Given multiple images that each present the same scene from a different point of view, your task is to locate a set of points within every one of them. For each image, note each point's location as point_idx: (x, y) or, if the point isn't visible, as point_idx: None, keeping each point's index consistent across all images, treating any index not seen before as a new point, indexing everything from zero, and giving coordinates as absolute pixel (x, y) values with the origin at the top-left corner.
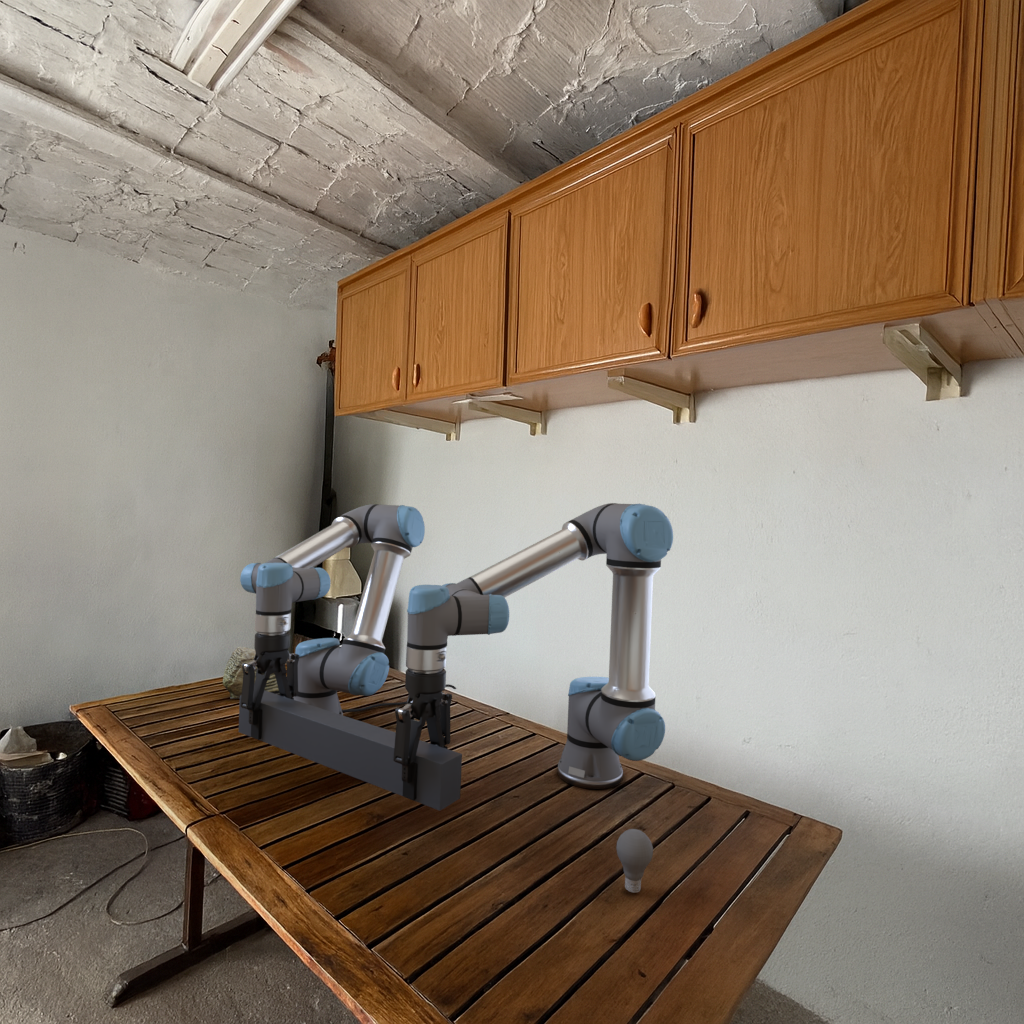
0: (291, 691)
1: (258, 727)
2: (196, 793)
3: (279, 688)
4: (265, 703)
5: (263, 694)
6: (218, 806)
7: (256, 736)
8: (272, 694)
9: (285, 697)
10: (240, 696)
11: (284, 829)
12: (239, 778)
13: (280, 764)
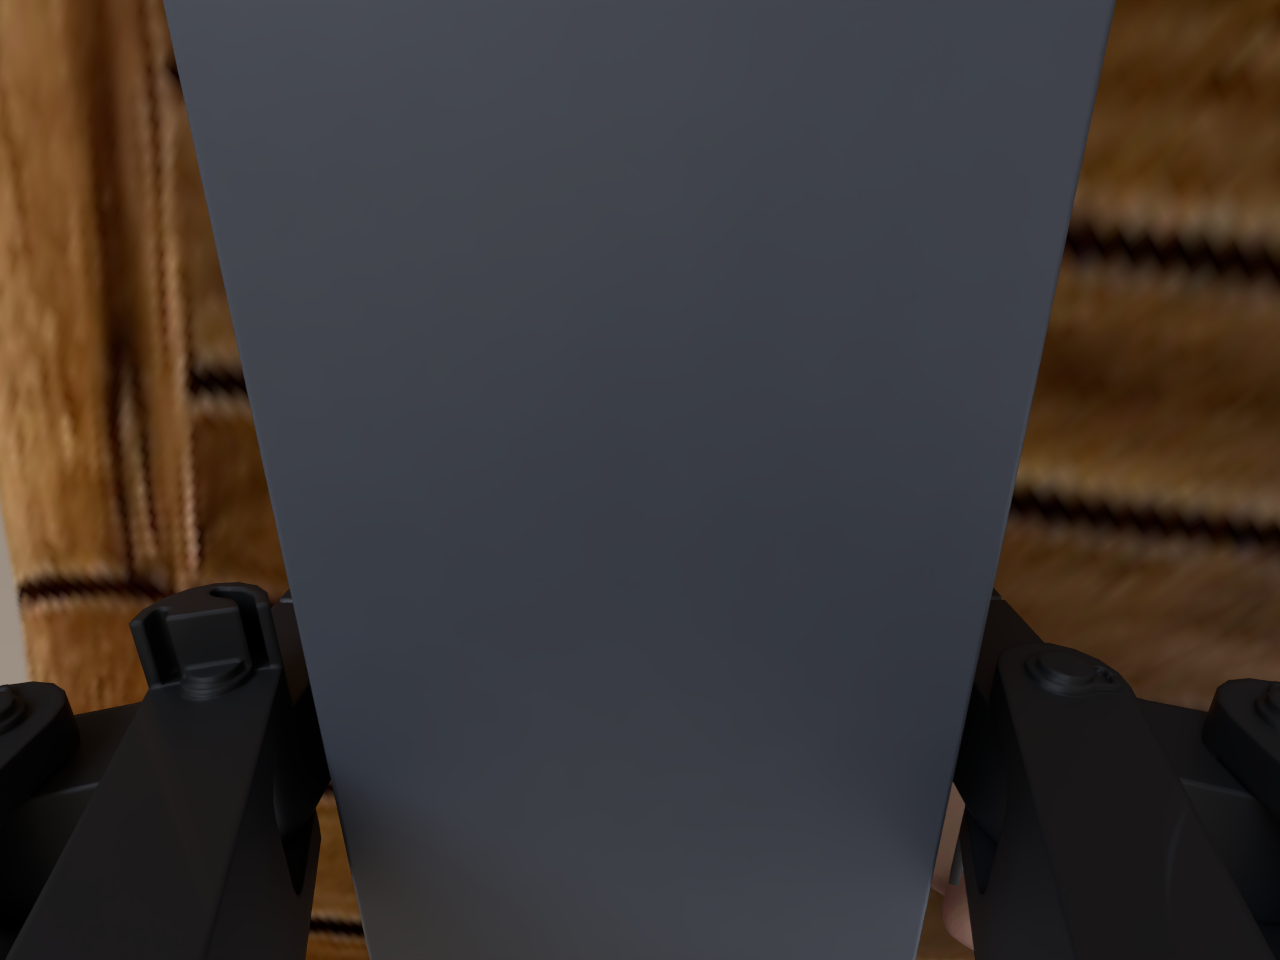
0: (1244, 870)
1: None
2: (165, 281)
3: (1040, 922)
4: (400, 951)
5: (760, 460)
6: (213, 531)
7: None
8: (902, 623)
9: (902, 941)
10: (177, 27)
11: (354, 888)
12: None
13: None
